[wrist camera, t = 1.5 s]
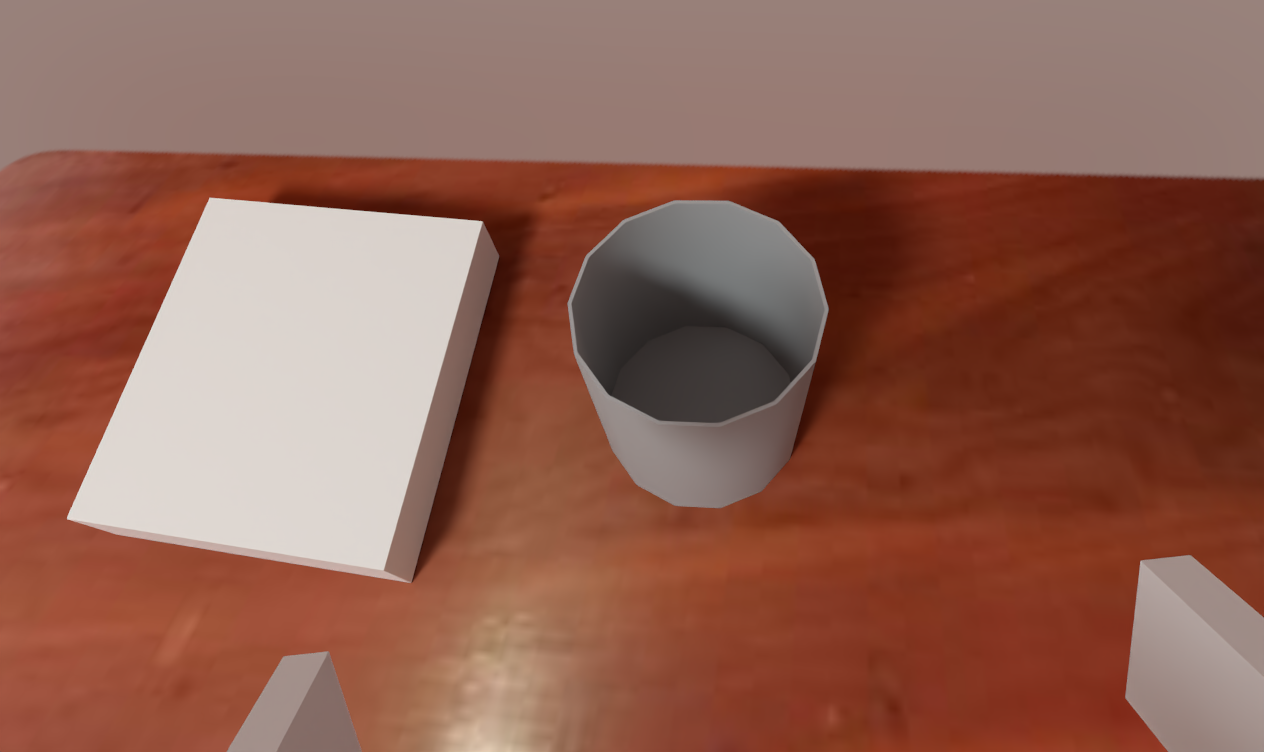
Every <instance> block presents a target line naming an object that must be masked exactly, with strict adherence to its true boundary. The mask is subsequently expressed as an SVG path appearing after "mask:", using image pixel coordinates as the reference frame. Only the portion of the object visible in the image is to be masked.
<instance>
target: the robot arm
mask: <svg viewBox="0 0 1264 752" xmlns="http://www.w3.org/2000/svg"><path fill="white" fill-rule="evenodd" d="M1125 698H1126V699H1127V701H1128V702H1129V703H1130V704H1131V706H1132V707H1133V708H1134V709H1135V711H1136V712H1137V713H1138V714H1139V716H1140V717H1141V718H1142V719H1143V721H1144V722H1145V723H1146V724H1147V726H1148V727H1149V728H1150V729H1151V731H1152V732H1153V733H1154V734H1155V736H1156V737H1157V738H1158V739H1159V741H1160V742H1161V743H1162V744H1163V746H1164V747H1165V748H1166V749H1167V751H1168V752H1264V617H1262V616H1261V615H1260V614H1259V613H1258V612H1256V611H1255V610H1254V609H1253V608H1252V607H1251V606H1249V605H1248V604H1247V603H1246V602H1245V601H1244V600H1242V599H1241V598H1240V597H1239V596H1238V595H1237V594H1235V593H1234V592H1233V591H1232V590H1231V589H1229V588H1228V587H1227V586H1226V585H1225V584H1224V583H1222V582H1221V581H1220V580H1219V579H1218V578H1217V577H1215V576H1214V575H1213V574H1212V573H1211V572H1210V571H1208V570H1207V569H1206V568H1205V567H1204V566H1203V565H1201V564H1200V563H1199V562H1198V561H1197V560H1195V559H1194V558H1193V557H1192V556H1191V555H1187V556H1178V557H1169V558H1160V559H1151V560H1142V561H1141V562H1140V571H1139V580H1138V589H1137V598H1136V607H1135V616H1134V625H1133V634H1132V642H1131V651H1130V660H1129V669H1128V678H1127V687H1126V696H1125ZM227 752H362V751H361V748H360V745H359V742H358V739H357V736H356V733H355V730H354V726H353V723H352V720H351V717H350V714H349V711H348V708H347V705H346V702H345V699H344V696H343V693H342V690H341V687H340V684H339V681H338V678H337V675H336V672H335V669H334V666H333V663H332V660H331V657H330V654H329V651H328V652H319V653H310V654H302V655H293V656H284V657H283V658H282V660H281V662H280V663H279V665H278V667H277V668H276V670H275V672H274V673H273V675H272V677H271V678H270V680H269V682H268V683H267V685H266V687H265V688H264V690H263V692H262V693H261V695H260V697H259V698H258V700H257V702H256V703H255V705H254V707H253V709H252V710H251V712H250V714H249V715H248V717H247V719H246V720H245V722H244V724H243V725H242V727H241V729H240V730H239V732H238V734H237V735H236V737H235V739H234V740H233V742H232V744H231V745H230V747H229V749H228V750H227Z"/></svg>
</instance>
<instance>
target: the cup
mask: <svg viewBox="0 0 1264 752" xmlns="http://www.w3.org/2000/svg"><path fill="white" fill-rule="evenodd" d="M568 310H569V318H570V326H571V334H572V342H573V350H574V355H575V358H576V360H577V363H578V365H579V368H580V370H581V373H582V375H583V378H584V380H585V383H586V385H587V388H588V390H589V393H590V395H591V398H592V400H593V403H594V405H595V408H596V410H597V413H598V415H599V418H600V420H601V423H602V425H603V428H604V430H605V433H606V435H607V438H608V440H609V443H610V445H611V448H612V450H613V452H614V453H615V455H616V456H617V458H618V459H619V460H620V462H621V463H622V465H623V466H624V468H625V469H626V470H627V472H628V473H629V475H630V476H631V478H632V479H633V480H634V482H635V483H636V485H638V486H640V487H642V488H643V489H645V490H647V491H649V492H651V493H653V494H654V495H656V496H658V497H660V498H662V499H664V500H665V501H667V502H669V503H671V504H673V505H675V506H689V507H707V508H722V507H724V506H727V505H729V504H732V503H734V502H737V501H739V500H741V499H744V498H746V497H749V496H751V495H754V494H756V493H759V492H761V491H762V490H763V489H764V488H765V487H766V486H767V484H768V483H769V482H770V481H771V480H772V479H773V478H774V477H775V475H776V474H777V473H778V472H779V471H780V470H781V469H782V467H783V466H784V465H785V464H786V463H787V462H788V461H789V460H790V457H791V453H792V449H793V446H794V442H795V438H796V434H797V431H798V427H799V423H800V419H801V416H802V412H803V408H804V404H805V400H806V397H807V393H808V389H809V385H810V382H811V378H812V374H813V370H814V367H815V363H816V359H817V355H818V351H819V347H820V343H821V339H822V335H823V331H824V326H825V322H826V318H827V314H828V310H829V308H828V305H827V301H826V298H825V294H824V291H823V287H822V283H821V280H820V276H819V273H818V269H817V266H816V262H815V259H814V258H813V257H812V256H811V255H810V254H809V253H808V252H807V251H806V250H805V249H804V247H803V246H802V245H801V244H800V243H799V242H798V241H797V240H796V239H795V238H794V237H793V236H792V235H791V234H790V233H789V232H788V231H787V229H786V228H785V227H784V226H783V225H782V224H781V223H780V222H779V221H777V220H774V219H772V218H769V217H767V216H765V215H762V214H760V213H757V212H755V211H752V210H750V209H747V208H745V207H743V206H740V205H738V204H735V203H733V202H730V201H672V202H669V203H666V204H664V205H661V206H659V207H656V208H653V209H651V210H648V211H646V212H643V213H640V214H638V215H635V216H633V217H630V218H627V219H625V220H623V221H622V222H621V223H620V224H619V225H618V226H617V227H616V228H615V229H614V230H613V231H612V232H610V233H609V234H608V235H607V236H606V237H605V238H604V239H603V240H602V241H601V242H600V243H599V244H598V245H597V246H596V247H595V248H594V249H593V250H592V251H591V252H589V253H588V254H587V255H586V257H585V259H584V262H583V265H582V267H581V270H580V272H579V275H578V278H577V280H576V283H575V285H574V288H573V291H572V293H571V296H570V298H569V301H568Z"/></svg>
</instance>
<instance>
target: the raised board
mask: <svg viewBox="0 0 1264 752" xmlns="http://www.w3.org/2000/svg"><path fill="white" fill-rule="evenodd" d="M498 260H499V254H498V252H497V250H496V248H495V246H494V244H493V242H492V240H491V238H490V235H489V233H488V231H487V229H486V227H485V225H484V223H483V221H474V220H462V219H451V218H439V217H427V216H416V215H404V214H392V213H381V212H369V211H358V210H346V209H334V208H323V207H311V206H300V205H288V204H276V203H265V202H253V201H241V200H230V199H218V198H209V201H208V203H207V205H206V207H205V210H204V212H203V214H202V216H201V219H200V221H199V223H198V225H197V228H196V230H195V232H194V234H193V237H192V239H191V241H190V243H189V246H188V248H187V250H186V252H185V254H184V257H183V259H182V261H181V263H180V266H179V268H178V270H177V272H176V275H175V277H174V279H173V281H172V284H171V286H170V288H169V290H168V293H167V295H166V297H165V299H164V302H163V304H162V306H161V308H160V310H159V313H158V315H157V317H156V319H155V322H154V324H153V326H152V328H151V331H150V333H149V335H148V337H147V340H146V342H145V344H144V346H143V349H142V351H141V353H140V355H139V358H138V360H137V362H136V364H135V366H134V369H133V371H132V373H131V375H130V378H129V380H128V382H127V384H126V387H125V389H124V391H123V393H122V396H121V398H120V400H119V402H118V405H117V407H116V409H115V411H114V414H113V416H112V418H111V420H110V422H109V425H108V427H107V429H106V431H105V434H104V436H103V438H102V440H101V443H100V445H99V447H98V449H97V452H96V454H95V456H94V458H93V461H92V463H91V465H90V467H89V470H88V472H87V474H86V476H85V478H84V481H83V483H82V485H81V487H80V490H79V492H78V494H77V496H76V499H75V501H74V503H73V505H72V508H71V510H70V512H69V514H68V517H67V519H69V520H72V521H75V522H78V523H81V524H85V525H88V526H91V527H94V528H98V529H101V530H104V531H107V532H110V533H114V534H117V535H123V536H129V537H135V538H141V539H147V540H153V541H159V542H165V543H171V544H177V545H184V546H190V547H196V548H202V549H208V550H214V551H220V552H226V553H232V554H238V555H244V556H250V557H256V558H263V559H269V560H275V561H281V562H287V563H293V564H299V565H305V566H311V567H317V568H323V569H329V570H335V571H341V572H348V573H354V574H360V575H366V576H372V577H378V578H384V579H390V580H396V581H402V582H408V583H412V579H413V576H414V572H415V568H416V564H417V561H418V557H419V553H420V549H421V546H422V542H423V538H424V535H425V531H426V527H427V523H428V520H429V516H430V512H431V509H432V505H433V501H434V497H435V494H436V490H437V486H438V483H439V479H440V475H441V471H442V468H443V464H444V460H445V457H446V453H447V449H448V445H449V442H450V438H451V434H452V431H453V427H454V423H455V419H456V416H457V412H458V408H459V405H460V401H461V397H462V393H463V390H464V386H465V382H466V378H467V375H468V371H469V367H470V364H471V360H472V356H473V352H474V349H475V345H476V341H477V338H478V334H479V330H480V326H481V323H482V319H483V315H484V312H485V308H486V304H487V300H488V297H489V293H490V289H491V286H492V282H493V278H494V274H495V271H496V267H497V263H498Z"/></svg>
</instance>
